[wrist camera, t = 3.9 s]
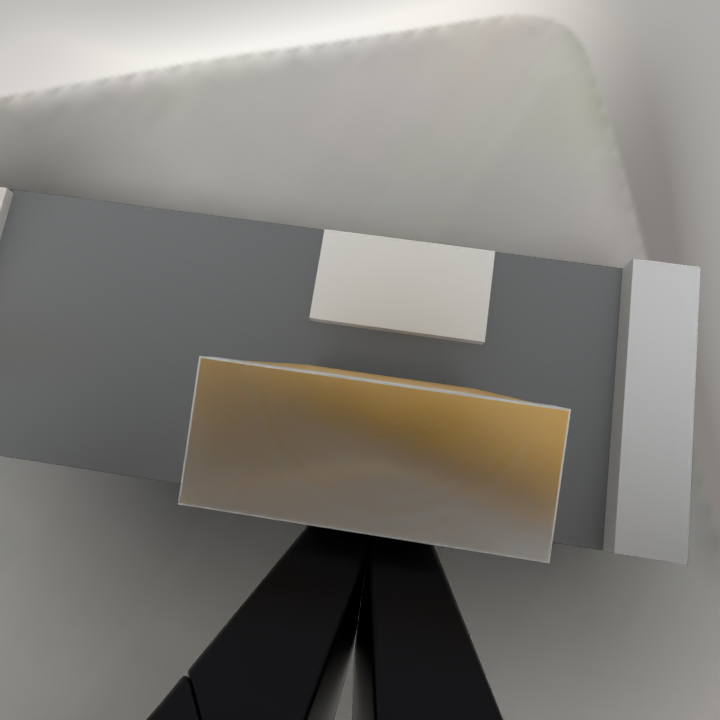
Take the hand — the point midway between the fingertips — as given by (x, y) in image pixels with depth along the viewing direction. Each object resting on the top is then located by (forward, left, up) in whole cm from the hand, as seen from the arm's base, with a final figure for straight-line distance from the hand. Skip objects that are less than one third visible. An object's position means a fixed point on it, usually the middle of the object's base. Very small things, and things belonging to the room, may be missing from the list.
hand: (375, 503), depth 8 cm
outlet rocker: (+2, 0, -6) cm, 7 cm away
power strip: (+3, +6, -11) cm, 13 cm away
